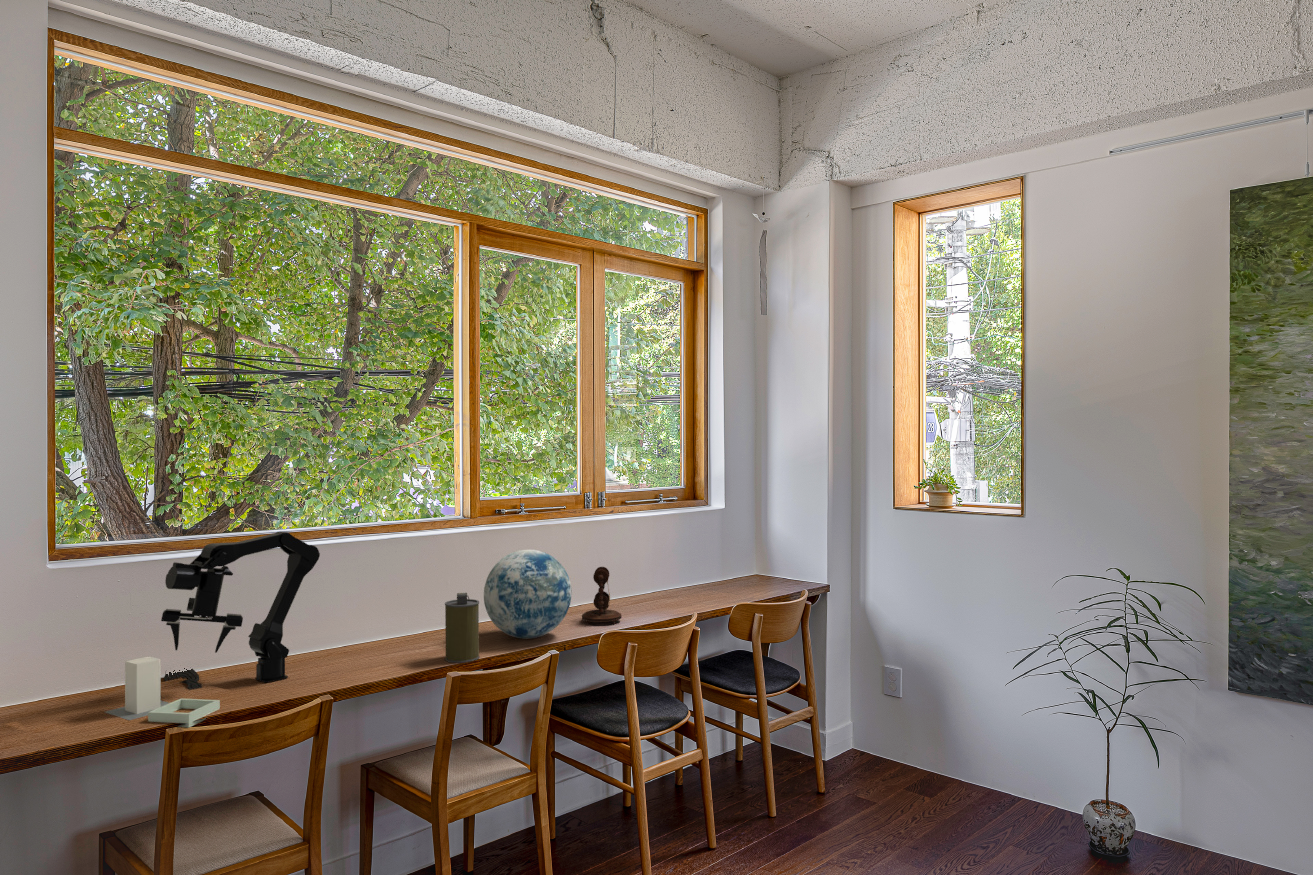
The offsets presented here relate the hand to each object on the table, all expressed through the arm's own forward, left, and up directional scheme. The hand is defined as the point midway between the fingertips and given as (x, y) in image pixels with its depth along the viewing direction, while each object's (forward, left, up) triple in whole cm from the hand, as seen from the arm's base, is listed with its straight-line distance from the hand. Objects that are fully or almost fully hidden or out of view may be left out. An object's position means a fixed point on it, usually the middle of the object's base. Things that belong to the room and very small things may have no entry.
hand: (196, 651), depth 214 cm
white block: (+14, +3, -11) cm, 18 cm away
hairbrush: (-3, -14, -13) cm, 19 cm away
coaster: (+14, +3, -12) cm, 19 cm away
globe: (-98, +20, -12) cm, 101 cm away
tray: (+9, +16, -12) cm, 22 cm away
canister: (-67, +24, -12) cm, 73 cm away
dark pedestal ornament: (-132, +23, -12) cm, 135 cm away
